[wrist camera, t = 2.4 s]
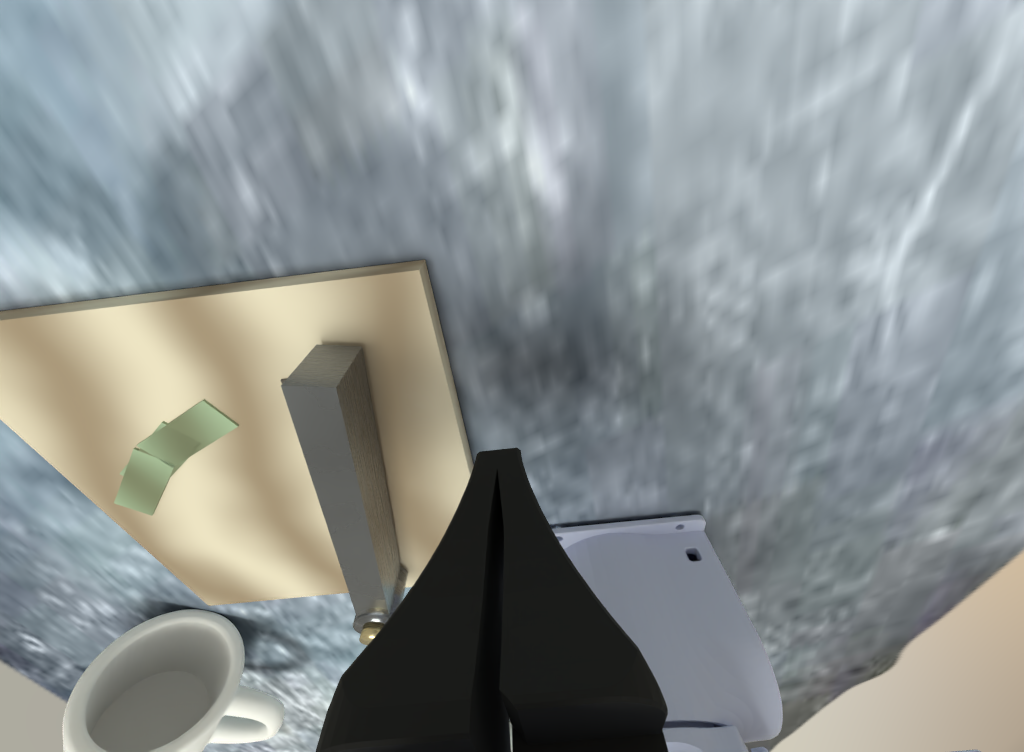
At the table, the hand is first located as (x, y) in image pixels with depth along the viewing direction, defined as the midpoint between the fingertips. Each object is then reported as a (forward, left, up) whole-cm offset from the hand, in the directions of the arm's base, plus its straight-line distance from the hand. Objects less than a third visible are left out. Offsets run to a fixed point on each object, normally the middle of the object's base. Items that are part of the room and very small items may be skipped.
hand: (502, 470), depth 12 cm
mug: (+24, +21, -5) cm, 32 cm away
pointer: (+7, +4, -3) cm, 9 cm away
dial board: (+11, +4, -5) cm, 13 cm away
